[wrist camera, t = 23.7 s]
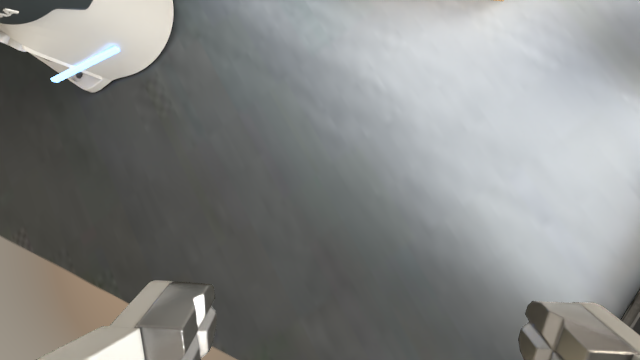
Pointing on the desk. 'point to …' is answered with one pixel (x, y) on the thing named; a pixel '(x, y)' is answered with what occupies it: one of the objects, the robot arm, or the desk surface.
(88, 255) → the desk surface
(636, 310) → the phone
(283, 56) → the desk surface
